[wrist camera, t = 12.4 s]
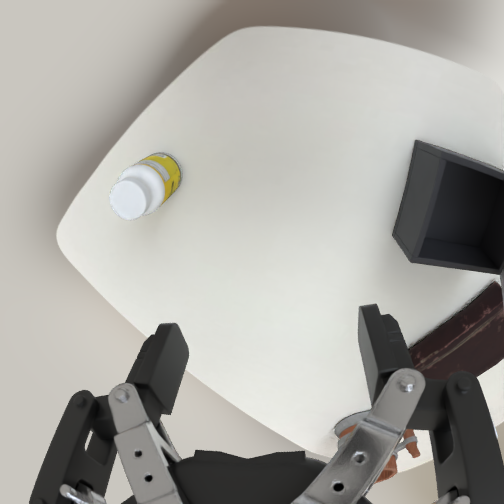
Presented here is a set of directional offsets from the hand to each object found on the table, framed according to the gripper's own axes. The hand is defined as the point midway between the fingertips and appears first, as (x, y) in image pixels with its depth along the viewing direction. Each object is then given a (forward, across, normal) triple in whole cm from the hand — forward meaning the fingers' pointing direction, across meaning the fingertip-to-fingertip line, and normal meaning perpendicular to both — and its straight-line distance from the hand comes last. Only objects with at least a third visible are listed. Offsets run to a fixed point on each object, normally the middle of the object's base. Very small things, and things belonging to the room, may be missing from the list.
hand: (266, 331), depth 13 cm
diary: (+24, -29, +34) cm, 51 cm away
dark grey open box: (+24, -23, +5) cm, 34 cm away
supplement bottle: (+24, +13, -3) cm, 28 cm away
